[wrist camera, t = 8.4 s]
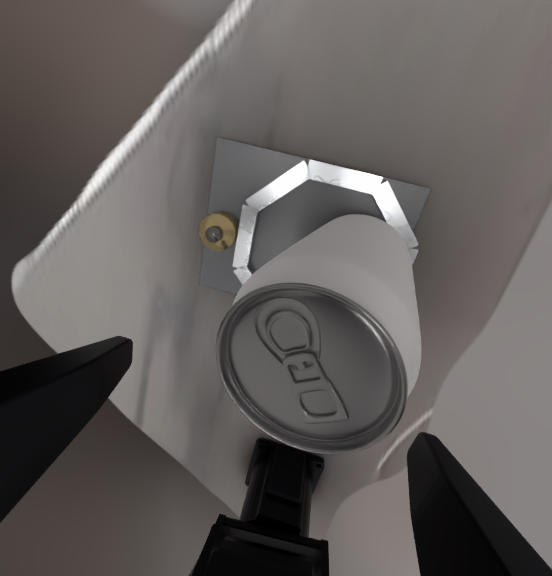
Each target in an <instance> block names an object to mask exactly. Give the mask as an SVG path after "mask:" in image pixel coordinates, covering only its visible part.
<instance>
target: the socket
mask: <svg viewBox="0 0 552 576" xmlns="http://www.w3.org/2000/svg"><path fill="white" fill-rule="evenodd" d="M382 178H383V177H380V176H376V175H372V174H368V173H364V172H360V171H356V170H351V169H347V168H343V167H339V166H335V165H331V164H327V163H323V162H318V161H314V160H309V164H308V165H307V163H306V161H302V162H301V163H299V164H298V165H296V166H295V167H294V168H292V169H291V170H289V171H288V172H286V173H285V174H283V175H282V176H280V177H279V178H277V179H276V180H274V181H273V182H271V183H270V184H268V185H267V186H266V187H264V188H263V189H261V190H260V191H258V192H257V193H255V194H254V195H252V196H251V197H249V198H248V199H246V202H247V203H245V204H243V206H242V212H241V218H240V224H239V230H238V236H237V242H236V248H235V253H234V259H233V265H232V266H233V267H236V269H235V270H234V273H235V274H236V276H237V277H238V279H239V280H240V282H241V283H242V285H243V284H244V283H245V282H246V281H247V280H248V278H249V277H250V276H251V275H252V274H253V273H255V271H254V269H253V267H252V266H251V264H250V261H251V256H252V251H253V245H254V240H255V235H256V230H257V225H258V220H259V214H260V210H262V209H263V208H265V207H266V206H268V205H269V204H271V203H273V202H274V201H276V200H277V199H279V198H280V197H282V196H283V195H285V194H286V193H288V192H289V191H291V190H293V189H294V188H296V187H297V186H299V185H300V184H302V183H303V182H305V181H306V180H308V179H312V180H316V181H320V182H325V183H329V184H333V185H337V186H341V187H345V188H349V189H353V190H357V191H361V192H365V193H369V194H372V196H373V198H374V200H375V202H376V204H377V206H378V208H379V210H380V212H381V214H382V216H383V218H384V220H385V222H386V223H388V224H389V225H391V226H392V227H393V228H394V229H395V230H396V231H397V232H398V233H399V234H400V235H401V237H402V238H403V240H404V241H405V243H406V245H407V248H408V250H409V254H410V258H411V264H412V265H413V262H414V260H415V258H416V256H417V253H418V251H419V250H418V249H417V248H416V246H418V245H419V244H418V242H417V240H416V238H415V236H414V234H413V232H412V230H411V228H410V226H409V224H408V222H407V219H406V217H405V215H404V213H403V211H402V209H401V207H400V205H399V203H398V201H397V199H396V197H395V195H394V193H393V191H392V189H391V187H390V185H389V183H388V181H387V180H385V181H383V182H381V181H382Z"/></svg>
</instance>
